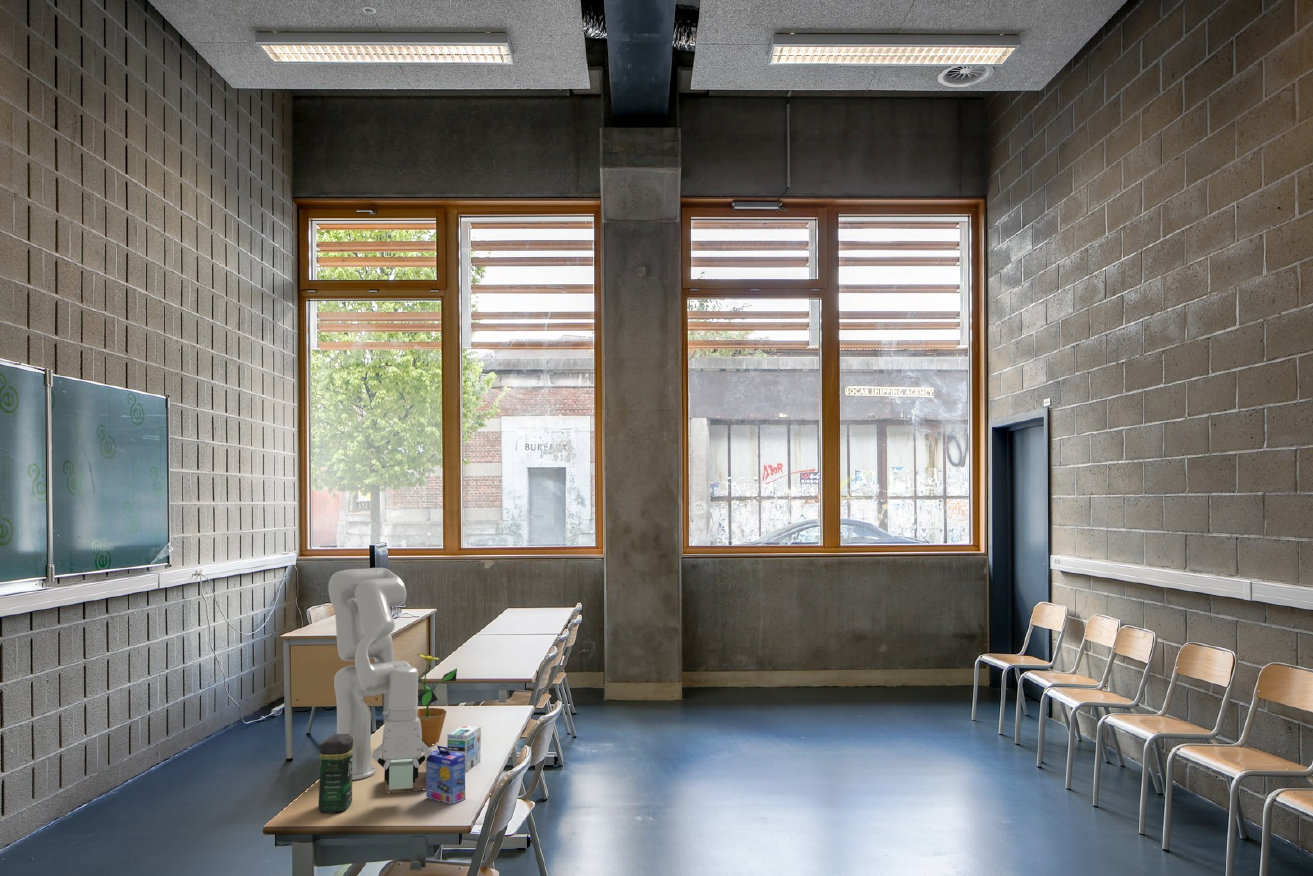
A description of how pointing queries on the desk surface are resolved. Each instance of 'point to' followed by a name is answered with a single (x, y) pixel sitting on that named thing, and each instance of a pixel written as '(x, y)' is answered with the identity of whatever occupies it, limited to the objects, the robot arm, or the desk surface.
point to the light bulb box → (466, 744)
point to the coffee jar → (336, 773)
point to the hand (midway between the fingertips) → (401, 781)
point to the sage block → (401, 774)
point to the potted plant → (432, 716)
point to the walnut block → (419, 782)
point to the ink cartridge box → (445, 776)
